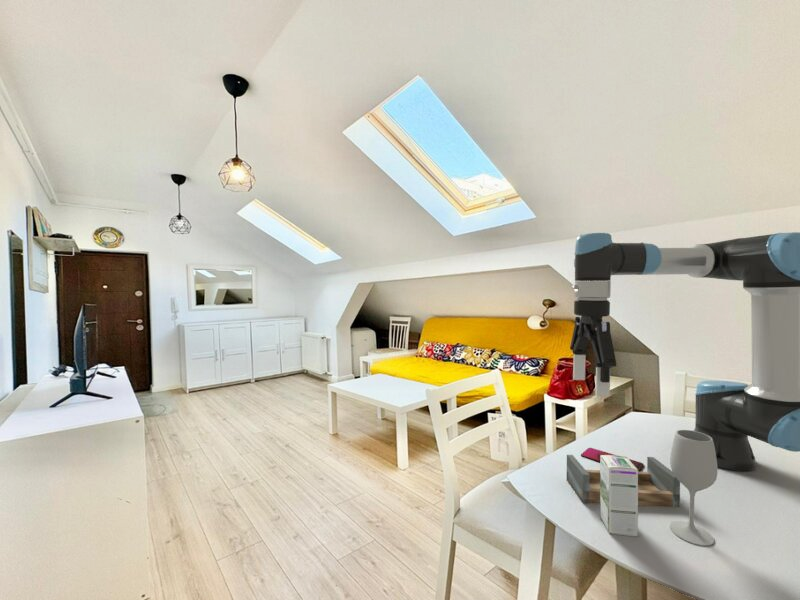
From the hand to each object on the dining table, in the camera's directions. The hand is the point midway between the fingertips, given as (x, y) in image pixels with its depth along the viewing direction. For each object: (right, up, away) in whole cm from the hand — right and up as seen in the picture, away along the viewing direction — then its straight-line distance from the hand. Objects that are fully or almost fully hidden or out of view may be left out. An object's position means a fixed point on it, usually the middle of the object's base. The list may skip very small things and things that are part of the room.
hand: (589, 387), depth 86 cm
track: (+9, -27, +4) cm, 29 cm away
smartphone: (+17, -27, +20) cm, 38 cm away
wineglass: (+15, -28, -11) cm, 34 cm away
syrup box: (+1, -28, -9) cm, 30 cm away
